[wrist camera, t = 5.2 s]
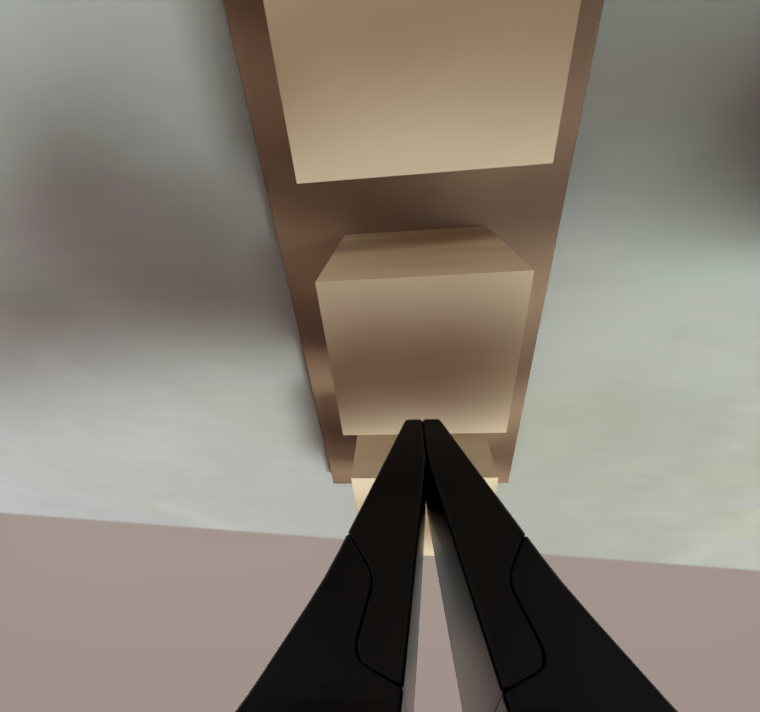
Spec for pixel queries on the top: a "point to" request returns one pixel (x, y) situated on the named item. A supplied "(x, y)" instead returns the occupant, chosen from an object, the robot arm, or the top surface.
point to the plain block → (424, 328)
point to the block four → (377, 447)
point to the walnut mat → (403, 214)
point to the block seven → (420, 83)
